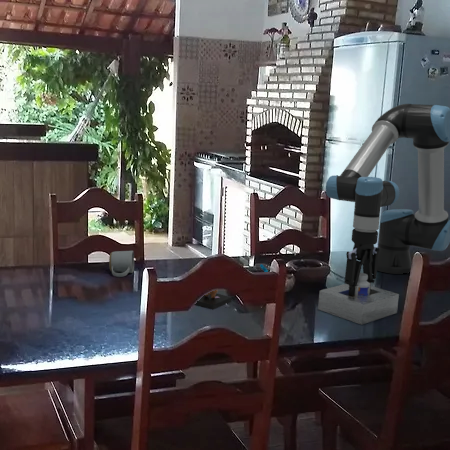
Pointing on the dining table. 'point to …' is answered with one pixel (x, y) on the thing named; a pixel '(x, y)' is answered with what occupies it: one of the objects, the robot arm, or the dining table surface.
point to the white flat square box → (358, 304)
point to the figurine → (213, 300)
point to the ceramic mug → (121, 262)
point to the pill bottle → (363, 285)
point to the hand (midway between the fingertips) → (358, 304)
